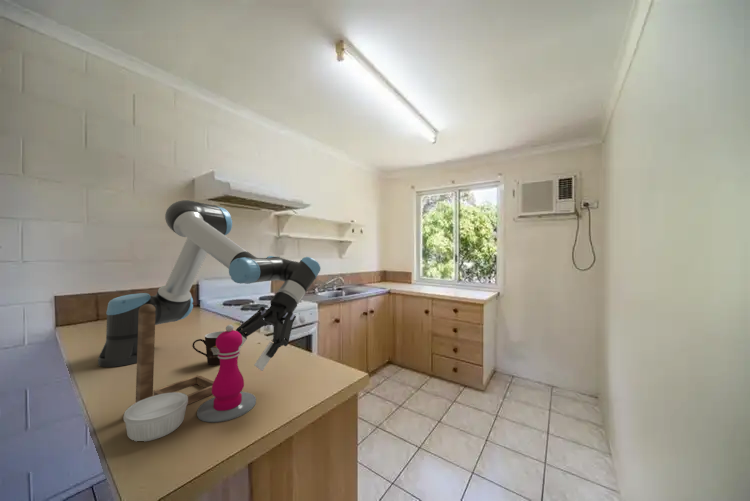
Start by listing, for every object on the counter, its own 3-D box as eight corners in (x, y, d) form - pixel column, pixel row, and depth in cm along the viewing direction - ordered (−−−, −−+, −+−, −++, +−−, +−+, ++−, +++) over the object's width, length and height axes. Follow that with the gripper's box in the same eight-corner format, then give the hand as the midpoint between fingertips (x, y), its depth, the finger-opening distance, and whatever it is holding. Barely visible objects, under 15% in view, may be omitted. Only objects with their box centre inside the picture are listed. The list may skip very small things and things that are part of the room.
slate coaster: (205, 397, 72) (206, 395, 72) (258, 391, 76) (258, 388, 76) (188, 426, 60) (188, 424, 60) (252, 416, 64) (252, 414, 64)
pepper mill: (209, 415, 63) (212, 329, 64) (212, 400, 70) (214, 323, 70) (244, 407, 67) (245, 326, 67) (243, 394, 73) (244, 320, 74)
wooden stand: (198, 381, 82) (200, 295, 83) (219, 391, 76) (222, 298, 77) (121, 409, 67) (125, 303, 67) (141, 424, 61) (144, 307, 62)
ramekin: (153, 449, 53) (154, 422, 53) (107, 442, 55) (108, 416, 55) (199, 416, 64) (200, 394, 64) (159, 411, 66) (160, 390, 66)
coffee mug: (236, 358, 101) (237, 331, 101) (221, 367, 92) (222, 338, 93) (207, 357, 102) (208, 330, 102) (189, 366, 94) (190, 337, 94)
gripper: (323, 309, 80) (282, 380, 67) (268, 302, 93) (224, 360, 80) (310, 293, 76) (263, 365, 63) (255, 288, 89) (206, 347, 75)
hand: (241, 362), depth 71 cm, fingers open, 13 cm apart
